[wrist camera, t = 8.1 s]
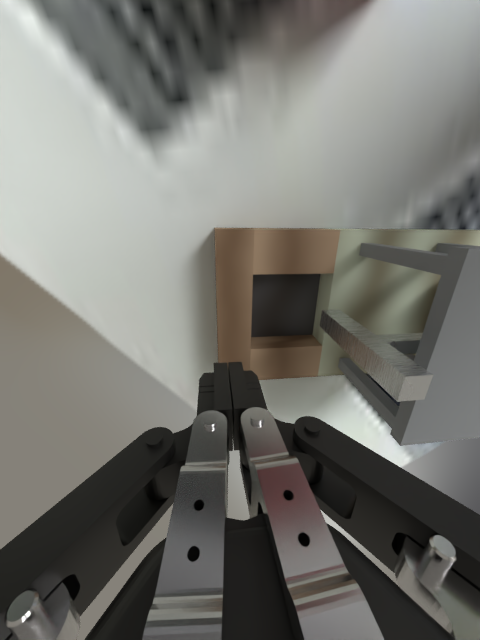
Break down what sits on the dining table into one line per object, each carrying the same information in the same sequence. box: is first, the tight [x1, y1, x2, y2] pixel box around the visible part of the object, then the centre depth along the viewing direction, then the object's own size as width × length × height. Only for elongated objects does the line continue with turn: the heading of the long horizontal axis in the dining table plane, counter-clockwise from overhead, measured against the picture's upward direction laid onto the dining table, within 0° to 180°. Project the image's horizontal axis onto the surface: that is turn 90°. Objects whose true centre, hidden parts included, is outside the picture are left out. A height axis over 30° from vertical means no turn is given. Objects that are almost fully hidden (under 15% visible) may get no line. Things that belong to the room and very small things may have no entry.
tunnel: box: [338, 243, 480, 446], centre depth 19 cm, size 8×13×9 cm, turn 179°
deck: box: [214, 228, 480, 380], centre depth 24 cm, size 32×14×3 cm, turn 89°
